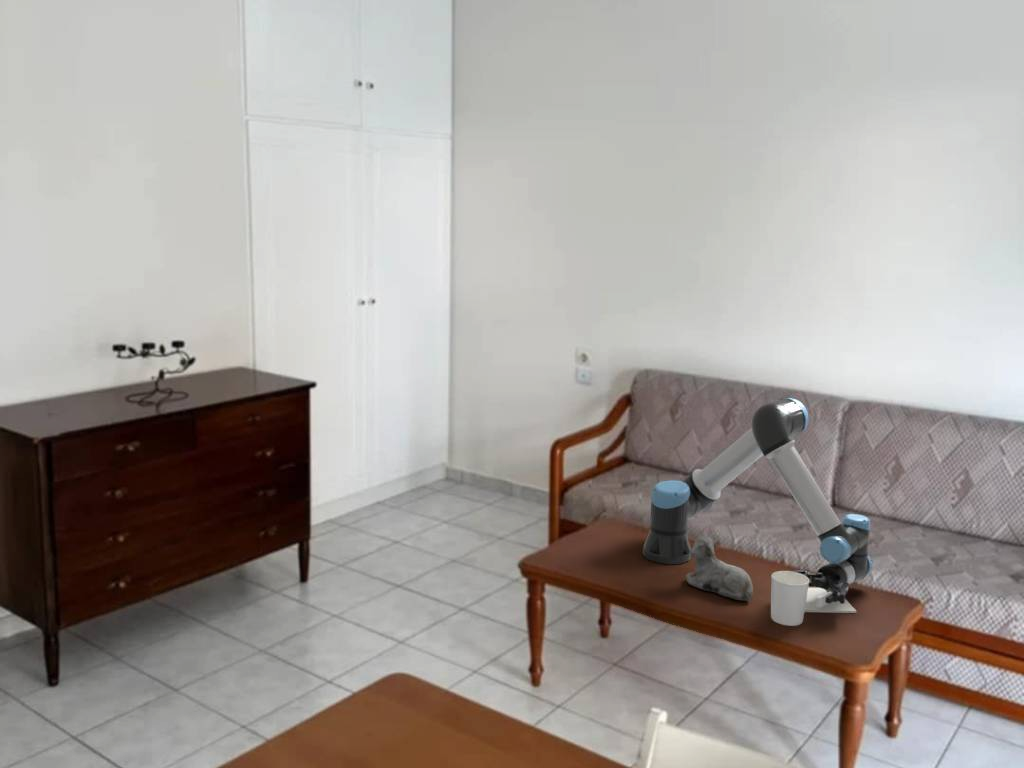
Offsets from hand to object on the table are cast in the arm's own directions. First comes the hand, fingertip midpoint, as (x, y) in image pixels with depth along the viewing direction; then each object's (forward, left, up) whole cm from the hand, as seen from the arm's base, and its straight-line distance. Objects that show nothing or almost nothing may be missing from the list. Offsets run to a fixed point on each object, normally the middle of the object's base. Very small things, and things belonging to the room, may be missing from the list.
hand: (794, 594), depth 253 cm
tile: (-12, +11, -7) cm, 18 cm away
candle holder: (+1, -2, -7) cm, 7 cm away
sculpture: (-18, -16, -7) cm, 25 cm away
